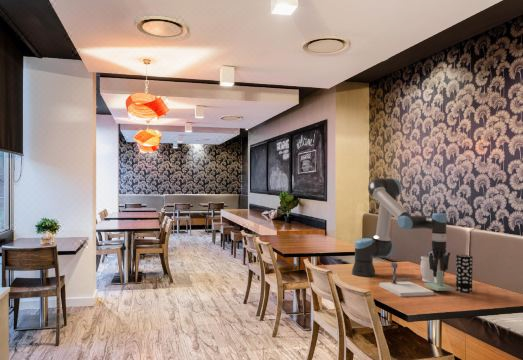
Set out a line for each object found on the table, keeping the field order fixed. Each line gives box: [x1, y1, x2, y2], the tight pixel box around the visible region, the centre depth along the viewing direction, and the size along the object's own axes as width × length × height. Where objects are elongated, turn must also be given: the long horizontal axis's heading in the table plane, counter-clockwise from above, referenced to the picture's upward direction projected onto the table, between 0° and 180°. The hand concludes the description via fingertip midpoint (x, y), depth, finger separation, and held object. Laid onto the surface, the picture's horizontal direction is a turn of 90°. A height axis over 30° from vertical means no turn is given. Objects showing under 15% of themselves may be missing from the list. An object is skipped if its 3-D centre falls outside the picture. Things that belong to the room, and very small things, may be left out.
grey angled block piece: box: [390, 261, 412, 283], centre depth 241 cm, size 10×6×12 cm, turn 83°
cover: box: [424, 269, 455, 292], centre depth 233 cm, size 12×10×10 cm
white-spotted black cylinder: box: [455, 254, 474, 294], centre depth 234 cm, size 8×8×20 cm
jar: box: [419, 255, 439, 283], centre depth 258 cm, size 11×10×15 cm
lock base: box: [378, 281, 435, 297], centre depth 233 cm, size 23×20×2 cm
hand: (438, 282), depth 233 cm, fingers closed on cover, 2 cm apart
